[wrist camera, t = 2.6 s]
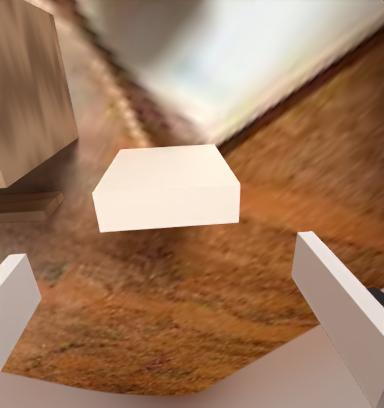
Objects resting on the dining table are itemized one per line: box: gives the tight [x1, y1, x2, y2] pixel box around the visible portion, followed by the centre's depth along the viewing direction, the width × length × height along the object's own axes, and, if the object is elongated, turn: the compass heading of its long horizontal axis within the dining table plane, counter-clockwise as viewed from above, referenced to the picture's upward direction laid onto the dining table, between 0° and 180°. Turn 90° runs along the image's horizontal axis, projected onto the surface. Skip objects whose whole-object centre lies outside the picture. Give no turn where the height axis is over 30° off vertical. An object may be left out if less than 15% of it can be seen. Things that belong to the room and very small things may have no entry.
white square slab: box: [92, 144, 240, 232], centre depth 25 cm, size 4×10×12 cm, turn 92°
